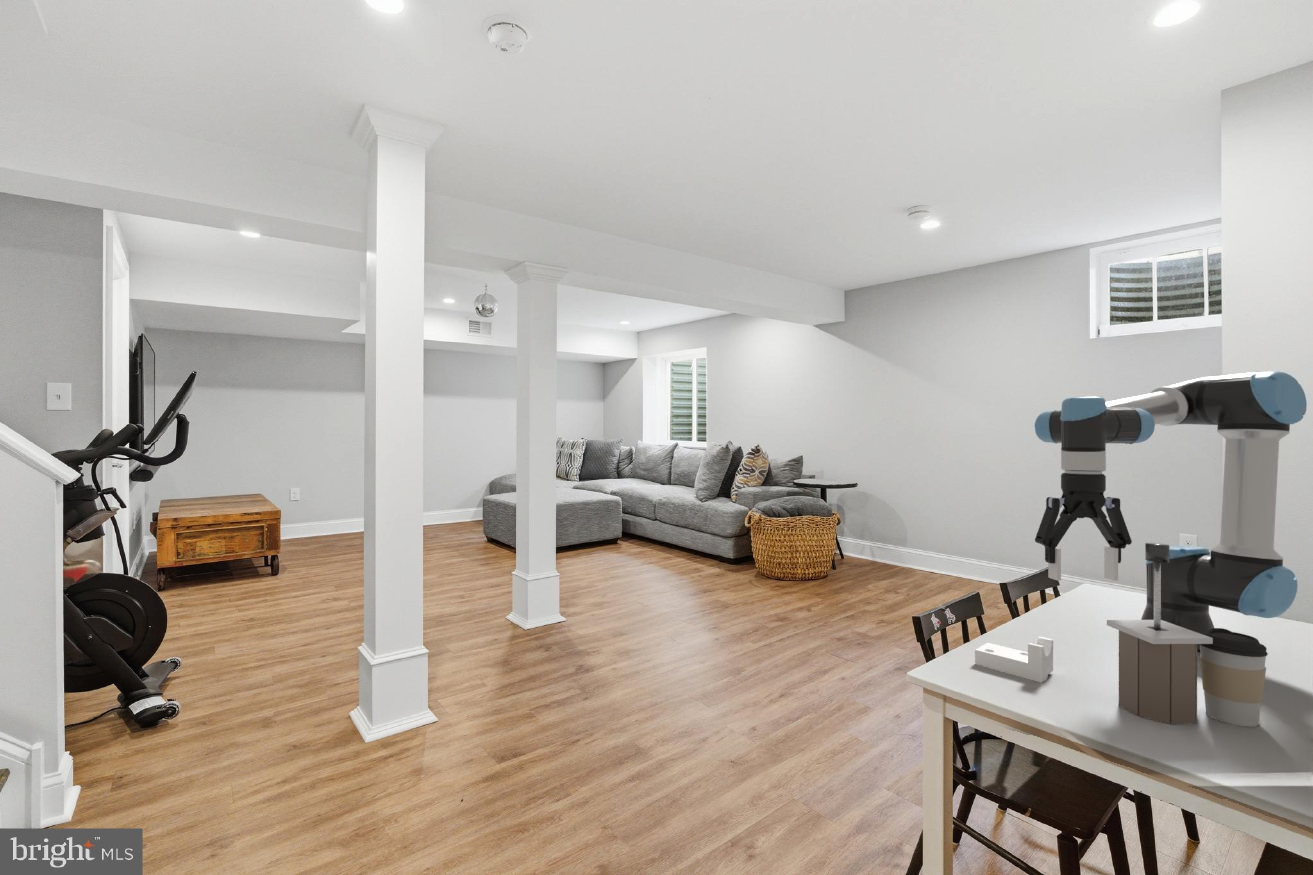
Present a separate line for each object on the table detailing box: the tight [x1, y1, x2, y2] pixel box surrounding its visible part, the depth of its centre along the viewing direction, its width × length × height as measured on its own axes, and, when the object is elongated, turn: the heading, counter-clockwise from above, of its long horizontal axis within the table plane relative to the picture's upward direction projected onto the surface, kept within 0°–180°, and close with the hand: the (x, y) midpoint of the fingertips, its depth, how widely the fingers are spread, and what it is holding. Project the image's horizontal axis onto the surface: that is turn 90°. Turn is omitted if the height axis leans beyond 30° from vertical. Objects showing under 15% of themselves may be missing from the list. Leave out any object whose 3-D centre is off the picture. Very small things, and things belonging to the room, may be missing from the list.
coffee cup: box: [1199, 627, 1269, 727], centre depth 108 cm, size 9×9×15 cm
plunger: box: [1144, 542, 1170, 631], centre depth 111 cm, size 7×7×19 cm
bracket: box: [974, 636, 1054, 683], centre depth 130 cm, size 13×7×8 cm, turn 41°
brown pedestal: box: [1106, 619, 1213, 725], centre depth 111 cm, size 11×11×15 cm
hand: (1082, 579), depth 124 cm, fingers open, 11 cm apart
